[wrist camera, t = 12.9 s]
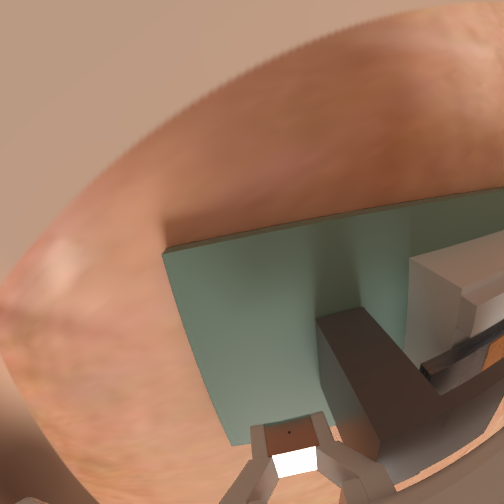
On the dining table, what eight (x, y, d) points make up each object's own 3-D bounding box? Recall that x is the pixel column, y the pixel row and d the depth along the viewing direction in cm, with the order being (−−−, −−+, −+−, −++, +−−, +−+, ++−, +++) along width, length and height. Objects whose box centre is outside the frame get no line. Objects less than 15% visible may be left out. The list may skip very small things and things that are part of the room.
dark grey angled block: (421, 288, 13) (518, 362, 6) (413, 355, 14) (481, 435, 7) (315, 318, 13) (380, 442, 6) (320, 386, 14) (364, 496, 7)
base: (541, 182, 13) (599, 195, 7) (525, 320, 17) (567, 351, 10) (166, 248, 12) (111, 321, 6) (231, 435, 16) (235, 519, 10)
